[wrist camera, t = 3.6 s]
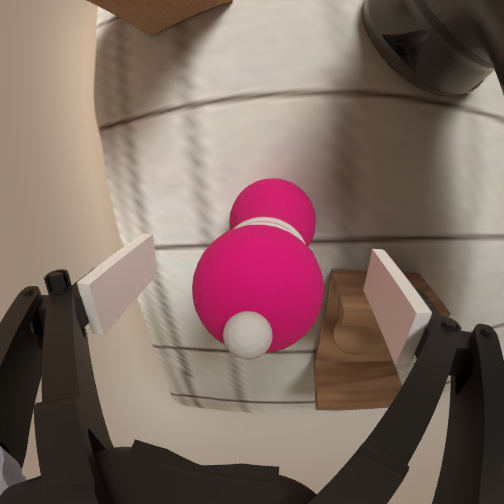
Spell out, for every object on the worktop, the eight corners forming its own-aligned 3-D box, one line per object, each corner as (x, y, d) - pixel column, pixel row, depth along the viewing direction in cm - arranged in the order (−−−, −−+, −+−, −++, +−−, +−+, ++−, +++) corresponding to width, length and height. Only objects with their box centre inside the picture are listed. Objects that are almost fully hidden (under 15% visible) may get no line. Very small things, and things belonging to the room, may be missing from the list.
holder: (332, 268, 29) (344, 312, 21) (419, 274, 27) (450, 313, 20) (313, 361, 34) (315, 409, 26) (387, 362, 33) (401, 405, 25)
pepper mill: (258, 253, 29) (210, 419, 11) (227, 192, 27) (109, 296, 9) (322, 227, 27) (370, 385, 9) (293, 161, 25) (306, 209, 7)
